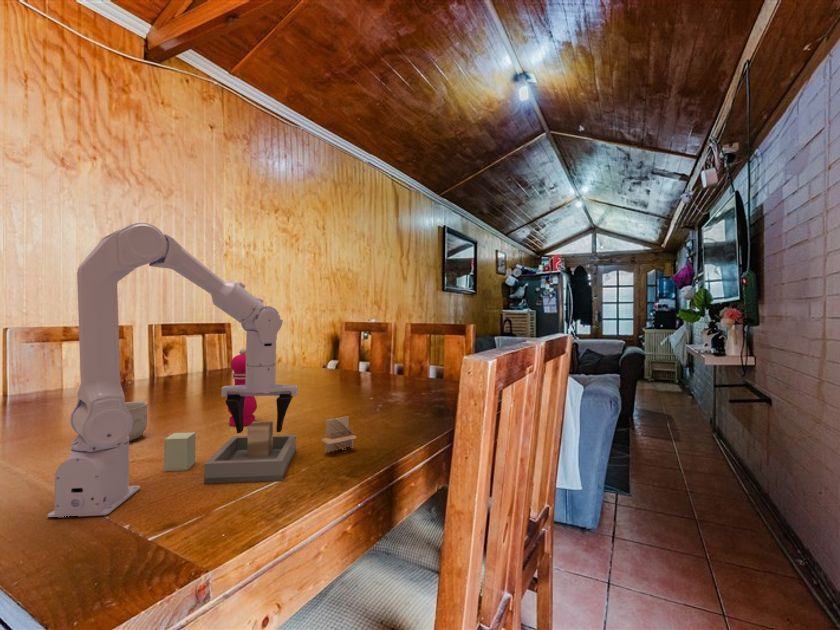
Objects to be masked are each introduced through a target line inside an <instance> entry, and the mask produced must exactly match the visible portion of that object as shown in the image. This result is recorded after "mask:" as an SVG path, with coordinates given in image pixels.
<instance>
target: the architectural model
mask: <svg viewBox="0 0 840 630" xmlns="http://www.w3.org/2000/svg"><path fill="white" fill-rule="evenodd" d="M349 418H350V417H349V416H341V417H336V418H330V419H326V420H325V437H324V438H321V442H323V443H325V453H326V452H328V451H332V450H336V449H339V448H340V450H341V449H342V451H343V450H346V451H347V448H346V447H348V446H349V447H350V448H353V449H354V439H357V435H354V428H353V427H352V428H349V420H350V419H349ZM344 447H345V449H344ZM350 448H349V449H350ZM336 451H337V450H336ZM332 452H333V451H332ZM328 453H329V452H328Z"/></svg>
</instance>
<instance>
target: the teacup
mask: <svg viewBox="0 0 840 630" xmlns="http://www.w3.org/2000/svg"><path fill="white" fill-rule="evenodd" d="M125 405H126V408H127V410H128V411H129V412H130V414H131V416H132V419H133V426H132V430H131V432H130V433H129V435H128V436H129V442H131V441H133V440H137V439H138V438H139V437H140V436H141V435H142V434H143V433H144V432H145V431H146V429H147V426H148V402H146V401H145V400H137V401H127V402H126V401H125Z"/></svg>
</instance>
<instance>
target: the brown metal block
mask: <svg viewBox="0 0 840 630" xmlns="http://www.w3.org/2000/svg"><path fill="white" fill-rule="evenodd" d="M273 435H274V421H273V420H272V421H271V420H267V421H264V420H263V421H255V422H252V423H251V424H250V425H247V436H248V444H247V457H263V456H269V454H270V453H271V452H272V450H273Z"/></svg>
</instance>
